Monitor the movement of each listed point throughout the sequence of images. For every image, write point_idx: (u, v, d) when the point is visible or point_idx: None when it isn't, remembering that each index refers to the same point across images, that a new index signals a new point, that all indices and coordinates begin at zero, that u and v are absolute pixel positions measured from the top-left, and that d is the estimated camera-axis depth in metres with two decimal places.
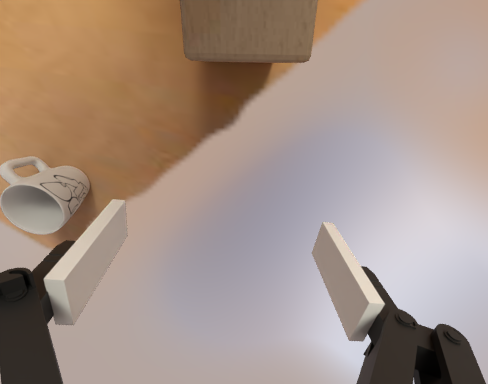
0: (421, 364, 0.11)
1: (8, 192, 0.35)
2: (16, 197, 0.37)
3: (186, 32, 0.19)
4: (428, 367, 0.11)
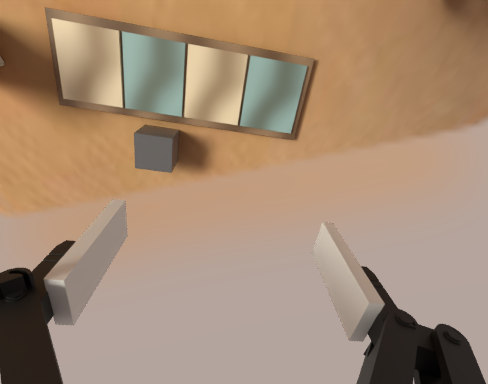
0: (421, 364, 0.11)
1: None
2: None
3: None
4: (428, 367, 0.11)
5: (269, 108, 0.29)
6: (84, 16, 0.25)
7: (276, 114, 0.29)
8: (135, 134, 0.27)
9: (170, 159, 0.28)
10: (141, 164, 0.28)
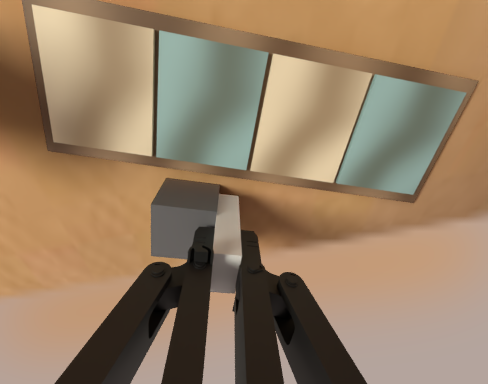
0: None
1: None
2: None
3: None
4: (273, 309, 0.12)
5: (389, 158, 0.18)
6: (92, 2, 0.14)
7: (397, 167, 0.18)
8: (153, 206, 0.15)
9: None
10: (161, 250, 0.17)
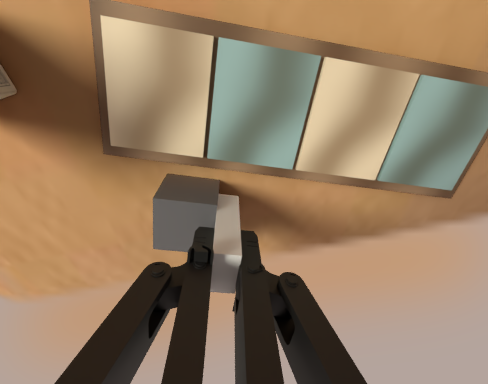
0: None
1: None
2: None
3: None
4: (273, 309, 0.12)
5: (430, 155, 0.19)
6: (156, 12, 0.14)
7: (438, 164, 0.19)
8: (155, 200, 0.16)
9: None
10: (163, 243, 0.17)
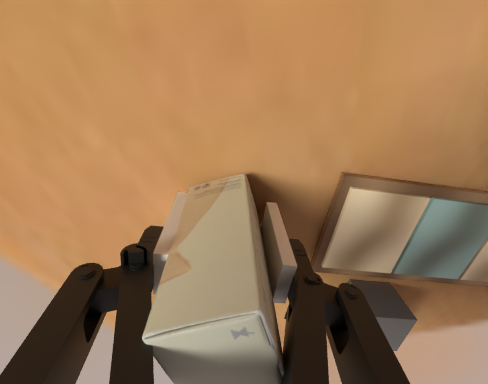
0: (325, 318, 0.12)
1: None
2: None
3: None
4: (331, 320, 0.12)
5: None
6: (391, 183, 0.18)
7: None
8: None
9: (402, 339, 0.21)
10: None
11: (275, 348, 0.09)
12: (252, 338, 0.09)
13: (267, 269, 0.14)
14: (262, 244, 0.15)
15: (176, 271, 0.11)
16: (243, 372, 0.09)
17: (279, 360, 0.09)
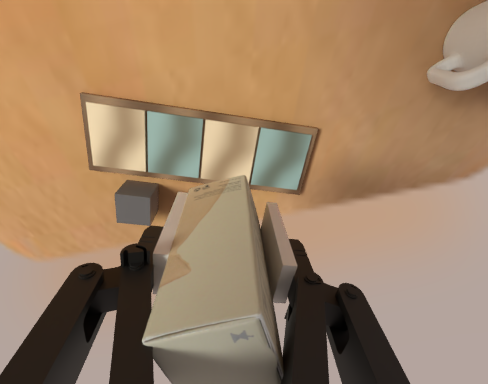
0: (325, 318, 0.12)
1: None
2: None
3: None
4: (331, 320, 0.12)
5: (277, 170, 0.32)
6: (114, 99, 0.28)
7: (283, 174, 0.33)
8: (115, 195, 0.30)
9: (148, 214, 0.31)
10: (122, 219, 0.31)
11: (275, 351, 0.09)
12: (252, 341, 0.09)
13: (267, 271, 0.15)
14: (262, 246, 0.15)
15: (176, 274, 0.11)
16: (242, 375, 0.09)
17: (279, 363, 0.09)
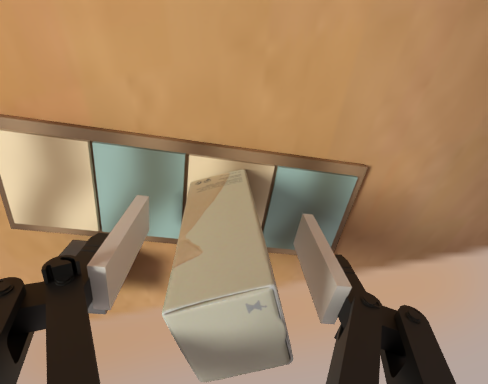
0: (384, 343, 0.12)
1: None
2: None
3: None
4: (391, 345, 0.11)
5: None
6: (36, 123, 0.17)
7: None
8: None
9: None
10: None
11: (284, 322, 0.10)
12: (264, 312, 0.09)
13: None
14: None
15: (187, 256, 0.11)
16: (253, 347, 0.10)
17: (287, 334, 0.10)
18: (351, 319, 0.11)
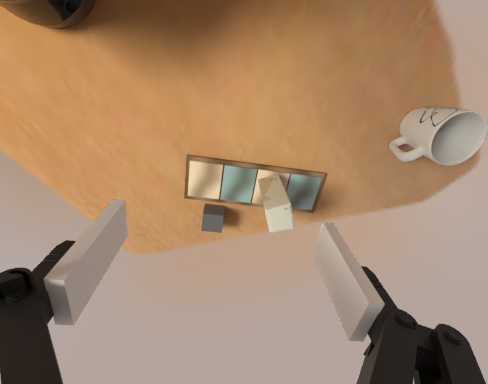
0: (421, 364, 0.11)
1: None
2: (433, 156, 0.42)
3: None
4: (428, 367, 0.11)
5: (300, 198, 0.52)
6: (206, 158, 0.47)
7: (303, 200, 0.52)
8: (203, 214, 0.49)
9: (221, 226, 0.50)
10: (205, 228, 0.51)
11: (292, 214, 0.40)
12: (288, 210, 0.40)
13: None
14: None
15: (267, 199, 0.42)
16: (285, 220, 0.41)
17: (293, 218, 0.41)
18: (383, 336, 0.10)
